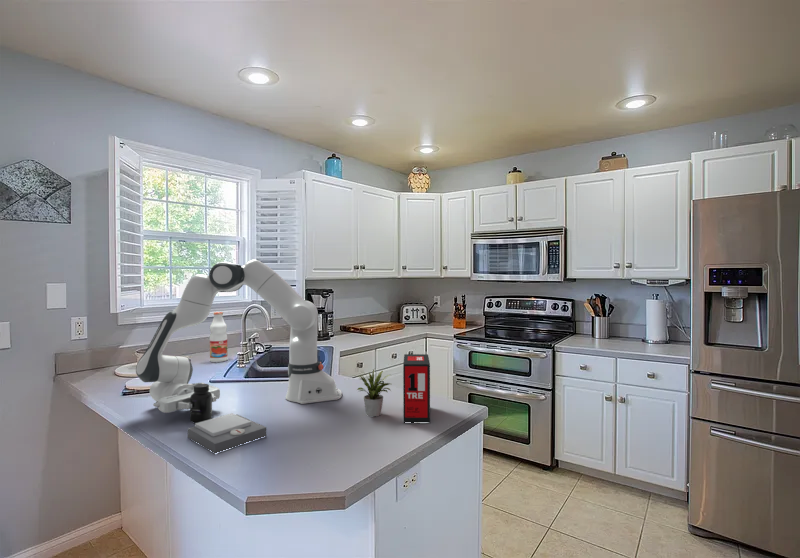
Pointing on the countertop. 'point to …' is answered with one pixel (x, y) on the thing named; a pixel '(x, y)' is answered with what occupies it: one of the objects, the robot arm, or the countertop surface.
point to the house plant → (373, 394)
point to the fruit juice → (218, 339)
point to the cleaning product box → (416, 388)
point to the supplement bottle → (201, 403)
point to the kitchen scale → (225, 432)
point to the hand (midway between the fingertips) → (202, 402)
